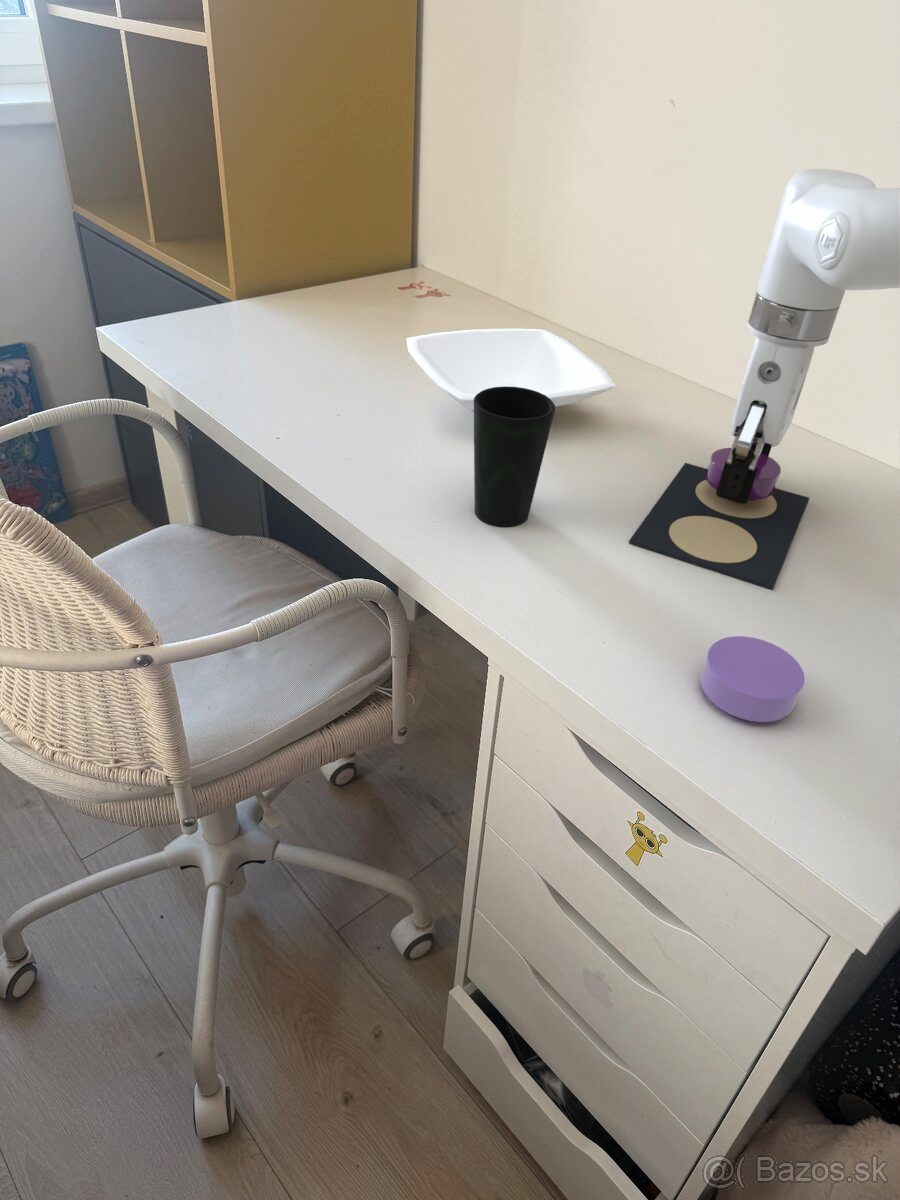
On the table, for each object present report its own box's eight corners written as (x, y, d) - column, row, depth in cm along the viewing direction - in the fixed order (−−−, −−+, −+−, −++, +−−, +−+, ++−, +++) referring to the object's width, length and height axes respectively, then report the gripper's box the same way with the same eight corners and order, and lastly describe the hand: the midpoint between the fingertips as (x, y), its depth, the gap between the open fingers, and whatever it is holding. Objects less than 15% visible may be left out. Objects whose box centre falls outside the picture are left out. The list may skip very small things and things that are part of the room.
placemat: (808, 500, 91) (809, 496, 91) (772, 590, 77) (774, 585, 76) (684, 465, 96) (685, 461, 96) (628, 543, 82) (629, 539, 81)
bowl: (542, 364, 119) (547, 324, 116) (622, 433, 102) (631, 389, 98) (392, 375, 112) (393, 333, 109) (452, 452, 95) (455, 405, 91)
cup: (541, 535, 82) (558, 422, 74) (464, 530, 81) (473, 416, 74) (536, 496, 88) (551, 388, 81) (464, 491, 88) (473, 383, 80)
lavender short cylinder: (799, 685, 66) (812, 656, 64) (782, 741, 61) (795, 712, 59) (710, 653, 69) (720, 625, 67) (687, 704, 63) (696, 675, 62)
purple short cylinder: (778, 484, 90) (787, 459, 88) (765, 512, 85) (773, 486, 83) (713, 465, 93) (720, 441, 91) (696, 491, 88) (703, 466, 86)
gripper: (817, 353, 70) (757, 530, 81) (845, 303, 83) (790, 462, 94) (730, 333, 73) (683, 507, 84) (769, 288, 86) (724, 444, 96)
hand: (740, 482), depth 89 cm, fingers closed on purple short cylinder, 7 cm apart
